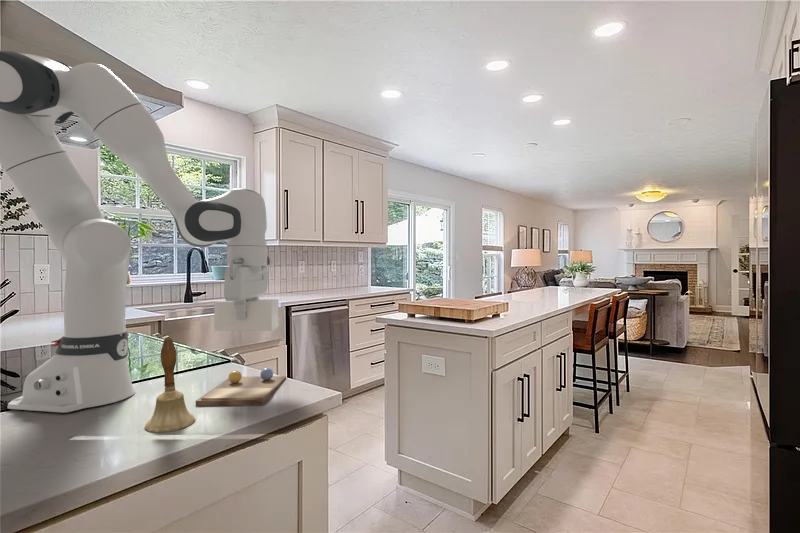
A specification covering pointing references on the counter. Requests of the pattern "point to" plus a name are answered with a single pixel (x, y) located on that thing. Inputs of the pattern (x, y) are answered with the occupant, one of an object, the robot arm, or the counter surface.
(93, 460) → the counter surface
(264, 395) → the board
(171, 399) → the hand bell
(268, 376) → the marble blue
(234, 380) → the marble amber
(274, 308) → the lid
